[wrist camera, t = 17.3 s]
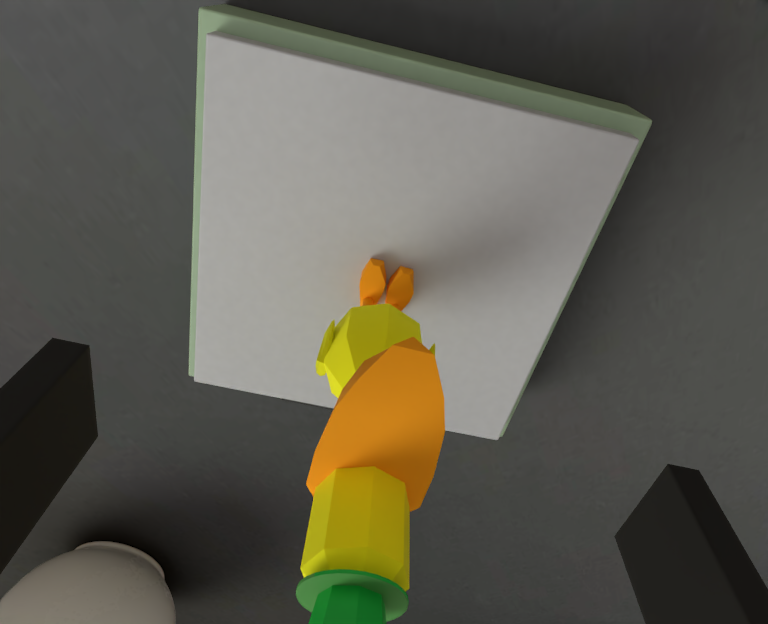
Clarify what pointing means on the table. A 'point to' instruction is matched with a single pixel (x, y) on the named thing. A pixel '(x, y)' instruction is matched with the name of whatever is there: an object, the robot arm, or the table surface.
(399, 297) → the toy figure
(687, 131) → the table surface
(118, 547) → the trinket box
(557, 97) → the kitchen scale
